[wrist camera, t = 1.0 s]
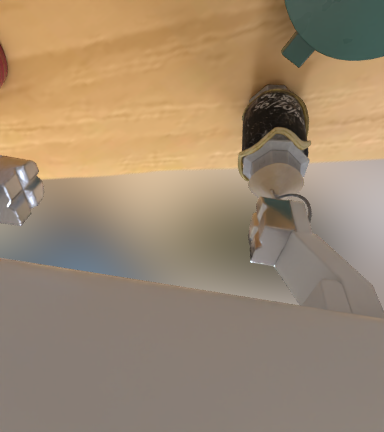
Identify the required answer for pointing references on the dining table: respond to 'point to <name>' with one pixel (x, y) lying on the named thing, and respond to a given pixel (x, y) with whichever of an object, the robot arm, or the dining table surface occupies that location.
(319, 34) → the lid
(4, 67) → the kitchen canister
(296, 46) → the pot
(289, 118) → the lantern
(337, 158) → the dining table surface
